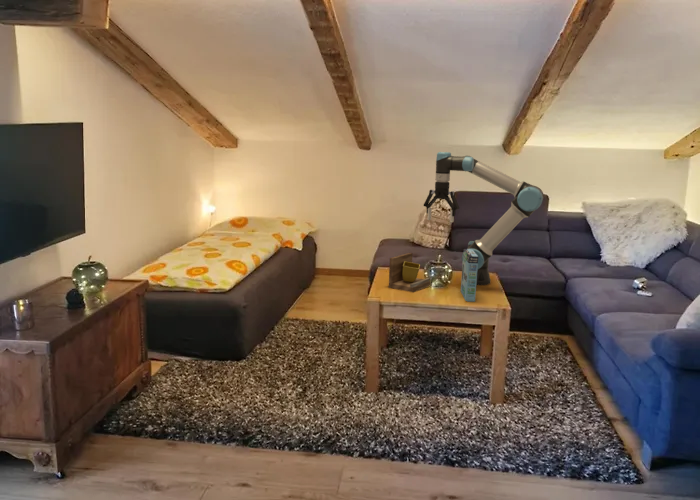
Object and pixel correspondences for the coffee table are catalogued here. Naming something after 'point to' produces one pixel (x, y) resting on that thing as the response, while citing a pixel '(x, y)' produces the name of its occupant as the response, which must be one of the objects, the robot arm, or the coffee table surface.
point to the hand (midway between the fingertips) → (440, 221)
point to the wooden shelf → (397, 278)
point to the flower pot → (410, 271)
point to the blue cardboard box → (469, 275)
